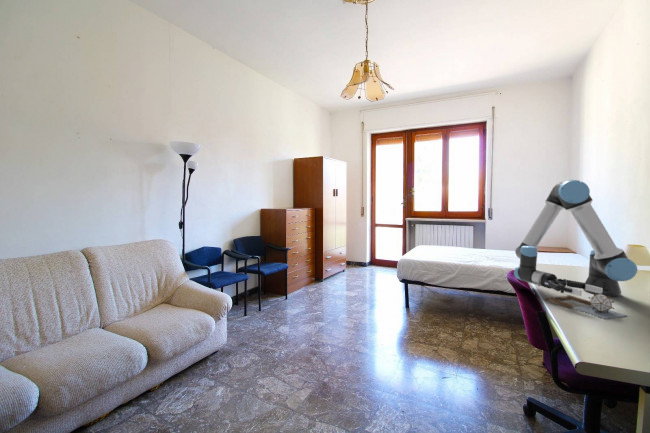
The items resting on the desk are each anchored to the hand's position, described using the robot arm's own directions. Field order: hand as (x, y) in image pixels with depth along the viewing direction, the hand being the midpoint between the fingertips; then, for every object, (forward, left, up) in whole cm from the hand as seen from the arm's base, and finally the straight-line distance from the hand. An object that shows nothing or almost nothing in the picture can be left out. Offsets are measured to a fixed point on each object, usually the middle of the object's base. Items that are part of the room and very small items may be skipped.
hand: (591, 292), depth 135 cm
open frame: (0, -9, -8) cm, 12 cm away
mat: (0, +4, -8) cm, 9 cm away
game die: (0, +4, -8) cm, 9 cm away
